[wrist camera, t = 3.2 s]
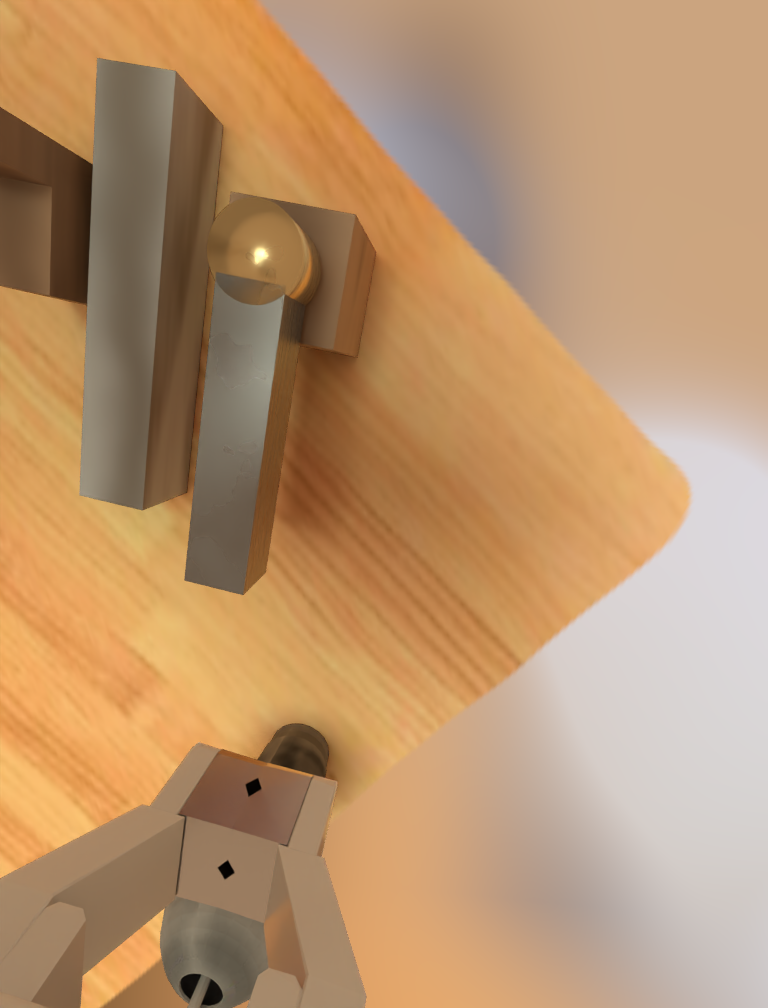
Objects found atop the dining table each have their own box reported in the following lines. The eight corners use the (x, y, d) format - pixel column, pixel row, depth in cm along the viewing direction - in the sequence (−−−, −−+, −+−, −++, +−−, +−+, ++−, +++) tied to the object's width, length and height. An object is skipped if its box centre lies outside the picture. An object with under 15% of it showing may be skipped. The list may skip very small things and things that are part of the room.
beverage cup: (361, 733, 36) (261, 1129, 17) (326, 803, 38) (200, 1232, 19) (272, 692, 36) (72, 1037, 17) (242, 764, 38) (31, 1149, 19)
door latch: (65, 464, 34) (-96, 496, 24) (77, 100, 29) (-127, -58, 18) (327, 525, 33) (272, 587, 23) (393, 155, 27) (359, 17, 17)
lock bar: (243, 214, 22) (212, 189, 19) (327, 230, 22) (309, 206, 19) (204, 557, 27) (174, 577, 24) (274, 574, 26) (252, 597, 23)
